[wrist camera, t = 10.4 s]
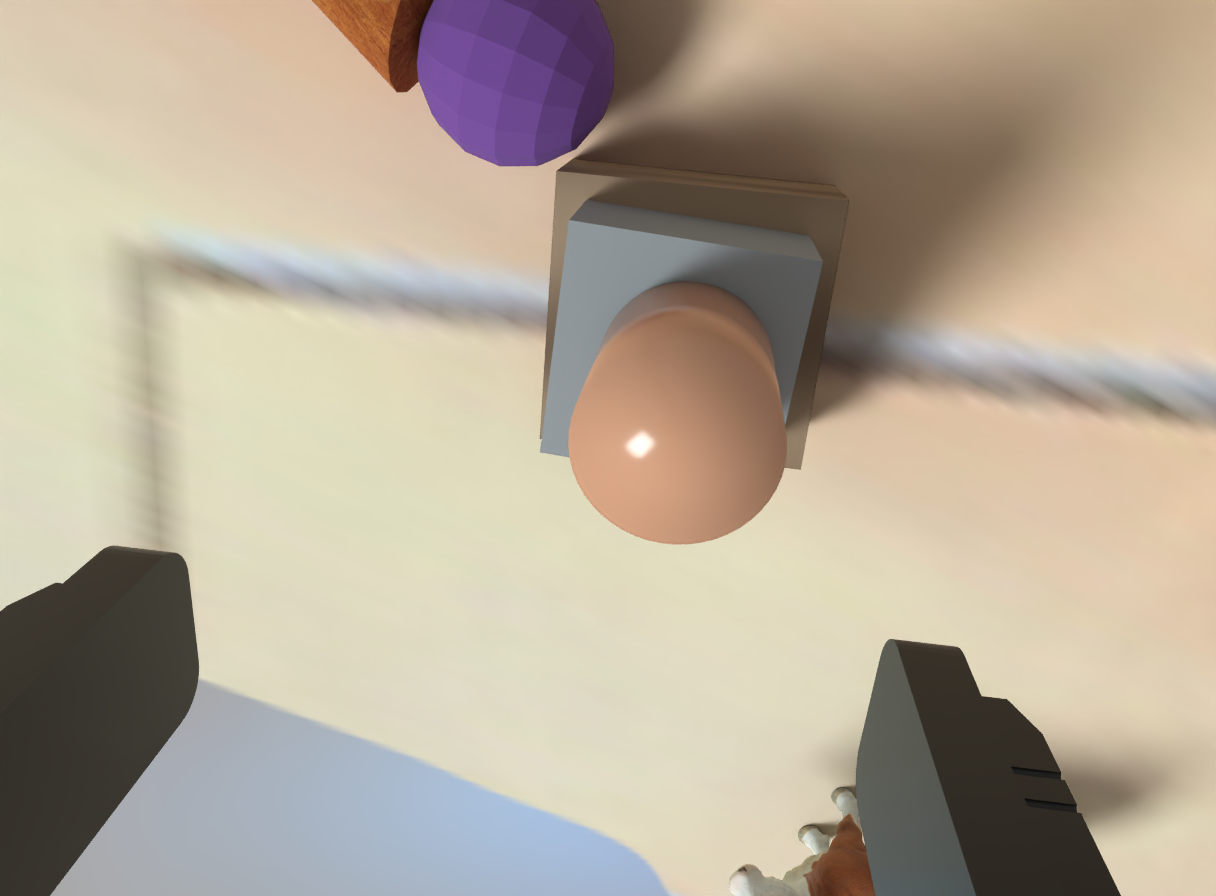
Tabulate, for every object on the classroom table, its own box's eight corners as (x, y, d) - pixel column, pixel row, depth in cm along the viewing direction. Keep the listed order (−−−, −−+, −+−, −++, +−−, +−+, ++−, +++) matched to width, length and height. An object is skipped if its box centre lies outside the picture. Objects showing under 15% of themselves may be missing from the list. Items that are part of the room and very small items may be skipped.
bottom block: (573, 158, 33) (556, 170, 30) (833, 184, 33) (849, 200, 29) (557, 400, 37) (539, 438, 33) (791, 427, 36) (800, 469, 33)
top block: (586, 199, 30) (568, 219, 26) (809, 235, 30) (823, 261, 26) (559, 407, 33) (540, 452, 29) (762, 442, 32) (769, 491, 29)
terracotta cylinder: (609, 269, 27) (579, 327, 21) (789, 294, 26) (806, 359, 21) (590, 434, 28) (558, 527, 23) (757, 459, 28) (766, 559, 23)
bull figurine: (729, 758, 42) (732, 911, 34) (1043, 792, 41) (1117, 957, 33) (719, 834, 44) (721, 996, 36) (1020, 868, 43) (1086, 1042, 35)
